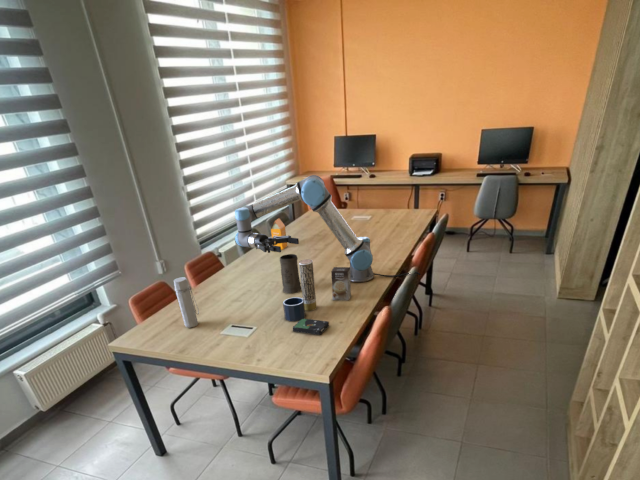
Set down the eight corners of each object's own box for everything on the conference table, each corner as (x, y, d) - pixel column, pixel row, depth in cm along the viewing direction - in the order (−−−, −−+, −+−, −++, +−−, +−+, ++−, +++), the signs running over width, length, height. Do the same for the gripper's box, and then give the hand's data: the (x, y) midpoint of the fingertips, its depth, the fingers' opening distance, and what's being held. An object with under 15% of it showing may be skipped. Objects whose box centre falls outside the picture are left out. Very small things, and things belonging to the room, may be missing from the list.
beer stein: (299, 293, 256) (296, 257, 246) (281, 294, 259) (277, 258, 248) (304, 285, 269) (301, 250, 258) (286, 286, 271) (283, 252, 261)
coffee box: (332, 300, 243) (330, 271, 234) (335, 295, 248) (333, 266, 238) (348, 300, 240) (347, 271, 231) (351, 295, 245) (350, 266, 235)
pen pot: (307, 312, 234) (305, 297, 229) (303, 321, 226) (301, 305, 221) (287, 312, 237) (285, 297, 232) (283, 321, 229) (280, 305, 224)
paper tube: (303, 307, 240) (298, 260, 226) (315, 305, 240) (311, 258, 226) (304, 312, 235) (299, 264, 220) (317, 310, 235) (313, 262, 220)
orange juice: (273, 249, 332) (269, 221, 320) (278, 245, 338) (274, 217, 327) (283, 249, 329) (279, 221, 318) (287, 245, 336) (284, 217, 324)
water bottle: (187, 329, 235) (174, 283, 220) (183, 324, 240) (170, 279, 226) (203, 324, 237) (192, 278, 223) (199, 319, 243) (187, 274, 229)
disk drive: (329, 326, 218) (302, 322, 225) (329, 321, 216) (301, 317, 223) (320, 336, 211) (292, 332, 217) (319, 330, 209) (291, 326, 216)
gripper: (276, 241, 246) (305, 245, 234) (243, 255, 232) (273, 260, 220) (274, 227, 242) (304, 230, 230) (241, 241, 228) (271, 245, 215)
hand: (289, 245), depth 225 cm, fingers open, 13 cm apart
